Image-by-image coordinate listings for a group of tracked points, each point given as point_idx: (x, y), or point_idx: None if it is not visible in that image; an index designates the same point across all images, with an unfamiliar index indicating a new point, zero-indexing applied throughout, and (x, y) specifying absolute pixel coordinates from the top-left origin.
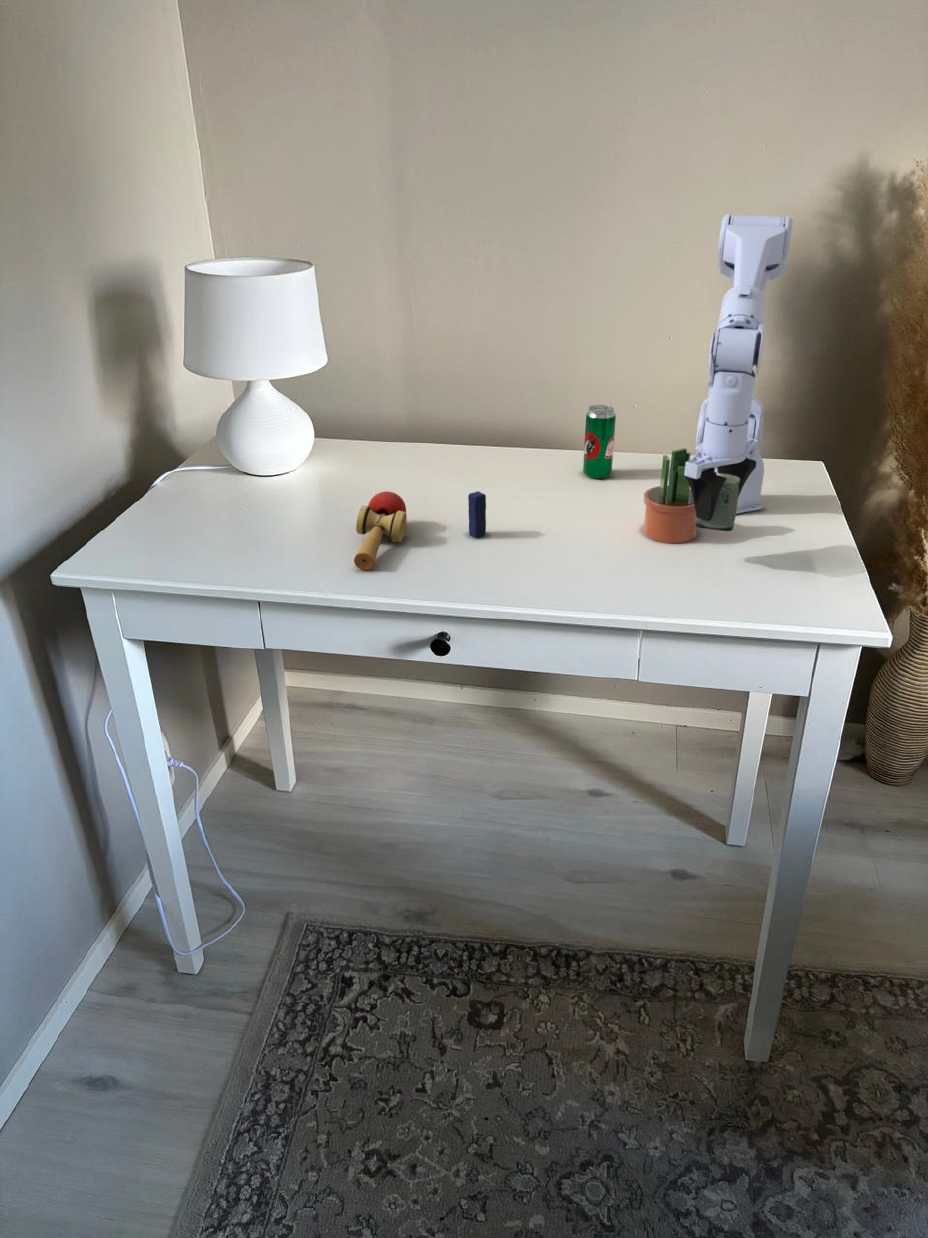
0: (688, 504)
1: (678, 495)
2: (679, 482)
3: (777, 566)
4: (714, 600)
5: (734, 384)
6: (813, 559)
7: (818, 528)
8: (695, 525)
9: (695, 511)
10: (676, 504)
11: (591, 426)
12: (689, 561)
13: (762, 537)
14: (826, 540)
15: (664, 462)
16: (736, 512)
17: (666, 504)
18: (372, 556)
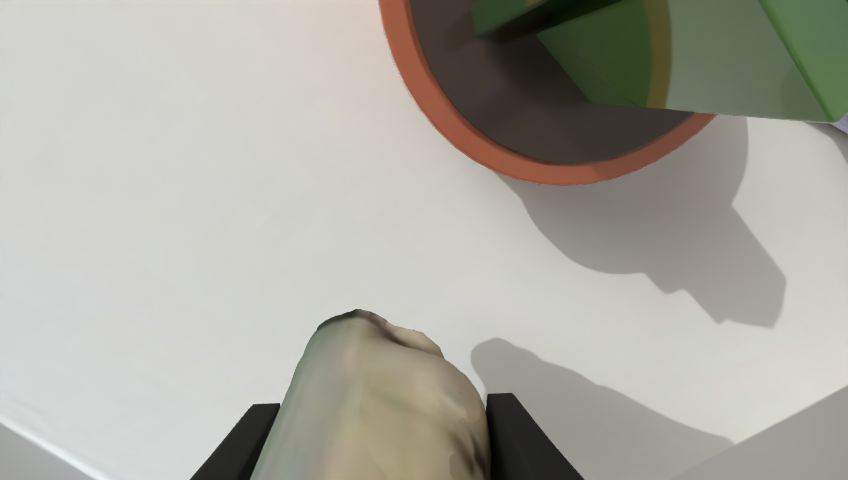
0: (518, 153)
1: (558, 47)
2: (614, 30)
3: None
4: (193, 425)
5: None
6: (604, 443)
7: (815, 359)
8: (320, 325)
9: (236, 425)
10: (461, 98)
11: None
12: (341, 240)
13: (670, 292)
14: (740, 408)
15: None
16: (834, 124)
17: (419, 38)
18: None
